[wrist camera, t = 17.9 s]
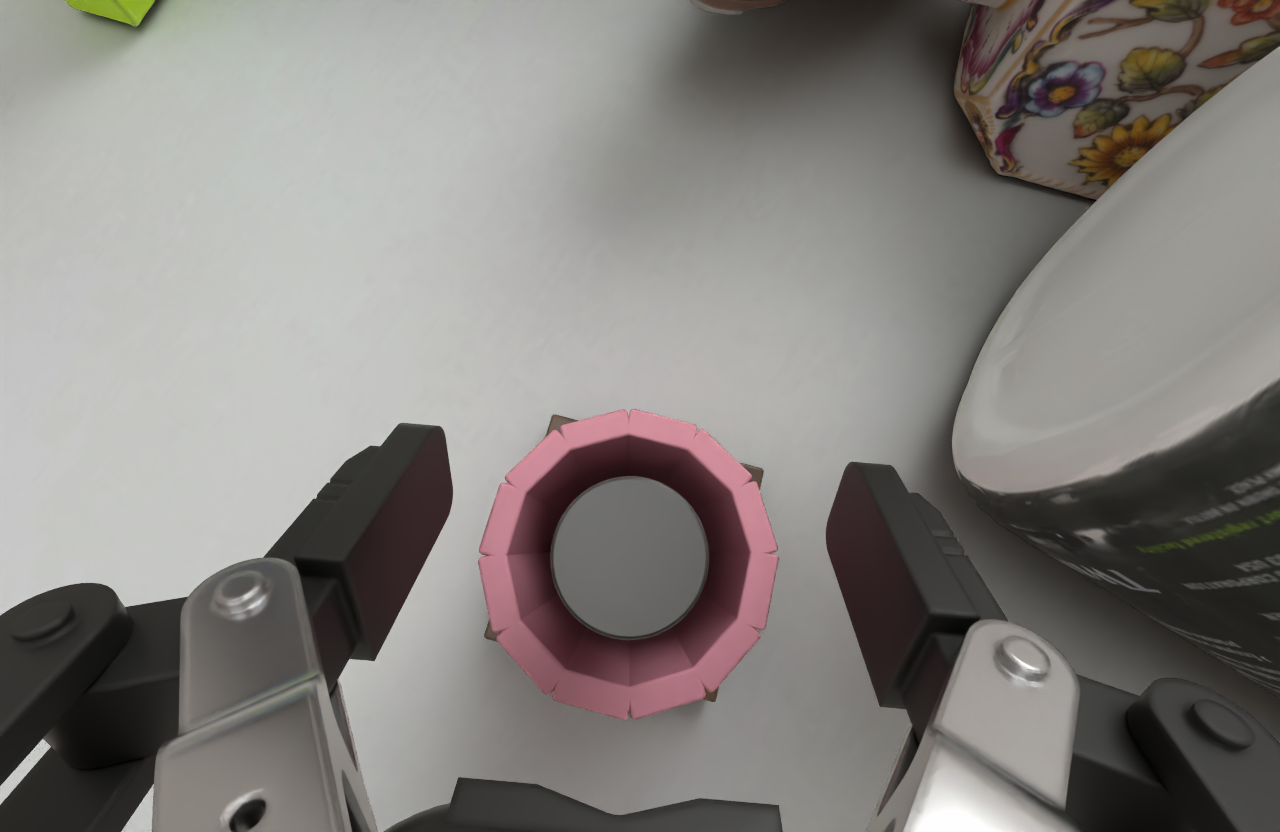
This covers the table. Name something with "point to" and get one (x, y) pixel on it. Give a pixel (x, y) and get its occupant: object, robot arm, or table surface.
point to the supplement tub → (1153, 386)
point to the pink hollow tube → (594, 662)
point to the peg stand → (629, 556)
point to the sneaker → (733, 5)
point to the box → (115, 9)
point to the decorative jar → (1098, 79)
